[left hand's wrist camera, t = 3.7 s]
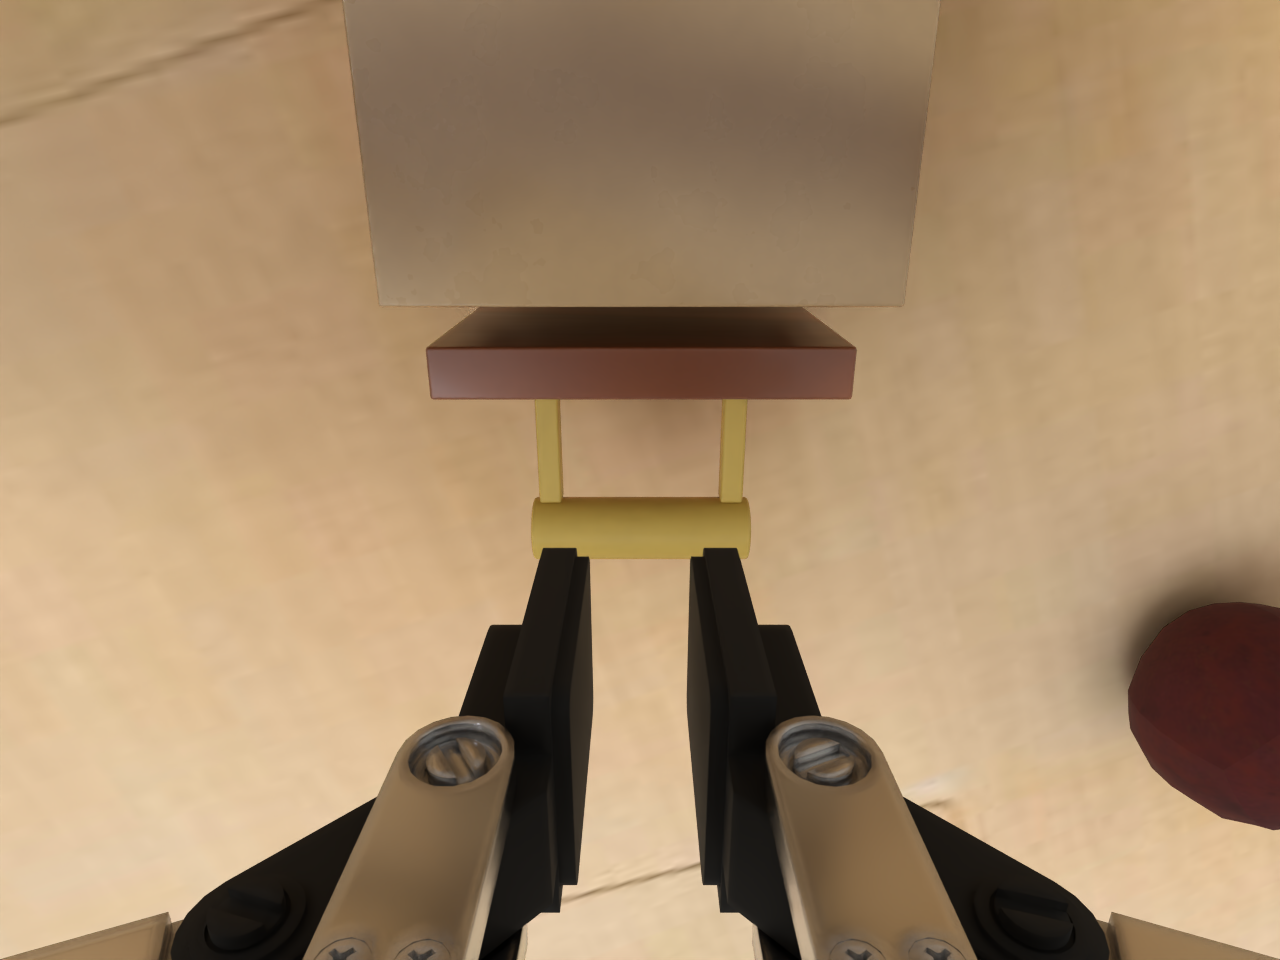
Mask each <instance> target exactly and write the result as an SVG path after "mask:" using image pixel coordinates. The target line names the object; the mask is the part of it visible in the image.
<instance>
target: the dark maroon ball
mask: <svg viewBox="0 0 1280 960" xmlns="http://www.w3.org/2000/svg"><path fill="white" fill-rule="evenodd" d="M1128 710H1129V721H1130V729H1131V731H1132V733H1133V735H1134V736H1135V738H1136V740H1137V742H1138V744H1139V746H1140V747H1141V749H1142V751H1143V753H1144V755H1145V756H1146V758H1147V760H1148V762H1149V764H1150V765H1151V767H1152V768H1153V769H1154V770H1155V771H1156V772H1157V773H1158V774H1159V775H1160V776H1161V777H1162V778H1163V779H1164V780H1165V781H1167V782H1168V783H1169V784H1170V785H1171V786H1172V787H1174V788H1175V789H1177V790H1178V791H1180V792H1181V793H1183V794H1185V795H1186V796H1188V797H1189V798H1191V799H1192V800H1194V801H1195V802H1197V803H1199V804H1200V805H1202V806H1203V807H1205V808H1207V809H1208V810H1210V811H1212V812H1213V813H1215V814H1216V815H1218V816H1220V817H1221V818H1224V819H1229V820H1234V821H1238V822H1243V823H1248V824H1252V825H1257V826H1260V827H1264V828H1267V829H1271V830H1279V829H1280V608H1276V607H1271V606H1266V605H1261V604H1252V603H1243V602H1235V603H1215V604H1211V605H1207V606H1204V607H1200V608H1197V609H1193V610H1189V611H1188V612H1186V613H1185V614H1183V615H1182V616H1180V617H1179V618H1177V619H1176V620H1174V621H1173V622H1171V623H1170V624H1168V625H1167V626H1165V627H1164V628H1163V629H1162V630H1161V631H1160V633H1159V634H1158V635H1157V637H1156V638H1155V639H1154V641H1153V642H1152V644H1151V645H1150V646H1149V648H1148V649H1147V650H1146V652H1145V653H1144V654H1143V656H1142V657H1141V659H1140V662H1139V664H1138V667H1137V669H1136V672H1135V674H1134V677H1133V679H1132V682H1131V684H1130V687H1129V689H1128Z"/></svg>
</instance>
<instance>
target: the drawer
mask: <svg viewBox="0 0 1280 960" xmlns="http://www.w3.org/2000/svg"><path fill="white" fill-rule="evenodd" d="M856 352H857V349H856V347H855V346H853V345H852V344H851V343H849V342H848V341H847V340H845V339H844V338H843V337H841V336H840V335H839V334H837V333H836V332H835V331H833V330H832V329H831V328H829V327H828V326H827V325H825V324H824V323H823V322H821V321H820V320H819V319H817V318H816V317H815V316H813V315H812V314H811V313H809V312H808V311H807V310H805V309H804V308H803V307H479V308H478V309H477V310H475V311H474V312H473V313H471V314H470V315H469V316H467V317H466V318H465V319H464V320H462V321H461V322H460V323H458V324H457V325H456V326H454V327H453V328H452V329H450V330H449V331H448V332H446V333H445V334H444V335H442V336H441V337H440V338H439V339H437V340H436V341H435V342H433V343H432V344H431V345H429V346H428V347H427V348H426V357H427V367H428V377H429V387H430V396H431V398H432V399H535V415H536V434H537V454H538V474H539V494H540V497H537V498H535V500H534V503H533V508H532V519H531V540H532V550H533V555H534V557H535V558H536V559H540V556H541V553H542V549H543V548H576V549H577V556H589V559H691V556H703V549H704V548H737V549H738V553H739V557H740V559H746V558H747V557H748V555H749V551H750V542H751V517H750V508H749V503H748V500H747V498H745V497H742V495H743V475H744V456H745V436H746V417H747V399H851V397H852V391H853V381H854V371H855V361H856ZM560 399H722V419H721V445H720V470H719V497H563V469H562V443H561V417H560Z"/></svg>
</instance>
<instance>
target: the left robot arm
mask: <svg viewBox="0 0 1280 960" xmlns="http://www.w3.org/2000/svg"><path fill="white" fill-rule="evenodd" d="M592 717H593V668H592V630H591V591H590V560H589V556H577V549H576V548H543V549H542V553H541V556H540V560H539V564H538V568H537V571H536V575H535V579H534V583H533V586H532V590H531V594H530V597H529V601H528V605H527V609H526V612H525V616H524V620H523V623H522V625H491V626H490V628H489V630H488V632H487V635H486V638H485V641H484V644H483V647H482V650H481V652H480V655H479V658H478V661H477V664H476V667H475V670H474V673H473V676H472V679H471V682H470V685H469V688H468V690H467V693H466V696H465V699H464V702H463V705H462V708H461V711H460V714H459V716H458V717H450V718H446V719H443V720H439V721H436V722H433V723H431V724H429V725H427V726H425V727H423V728H421V729H419V730H418V731H416V732H415V733H414V734H413V735H412V736H410V737H409V738H408V739H407V740H406V741H405V742H404V744H403V745H402V746H401V748H400V749H399V751H398V752H397V754H396V757H395V759H394V761H393V763H392V765H391V768H390V770H389V772H388V774H387V776H386V778H385V781H384V783H383V785H382V787H381V789H380V792H379V794H378V796H377V797H376V798H374V799H372V800H370V801H369V802H367V803H365V804H363V805H361V806H360V807H358V808H356V809H354V810H352V811H351V812H349V813H347V814H345V815H344V816H342V817H340V818H338V819H336V820H335V821H333V822H331V823H329V824H328V825H326V826H324V827H322V828H320V829H319V830H317V831H315V832H313V833H312V834H310V835H308V836H306V837H304V838H303V839H301V840H299V841H297V842H296V843H294V844H292V845H290V846H288V847H287V848H285V849H283V850H281V851H280V852H278V853H276V854H274V855H272V856H271V857H269V858H267V859H265V860H264V861H262V862H260V863H258V864H256V865H255V866H253V867H251V868H249V869H247V870H246V871H244V872H242V873H240V874H239V875H237V876H235V877H233V878H231V879H230V880H228V881H226V882H225V883H223V884H222V885H220V886H219V887H217V888H216V889H214V890H213V891H211V892H210V893H209V894H207V895H206V896H204V897H203V898H202V899H201V900H200V901H199V902H198V903H197V904H196V905H195V906H194V907H193V908H192V909H191V910H190V912H189V913H188V914H187V915H186V917H185V918H184V920H181V921H177V922H174V923H171V919H170V916H169V913H168V912H166V913H163V914H159V915H156V916H152V917H148V918H145V919H141V920H138V921H134V922H131V923H127V924H124V925H120V926H116V927H113V928H109V929H106V930H102V931H99V932H95V933H92V934H88V935H85V936H81V937H77V938H74V939H70V940H67V941H63V942H60V943H56V944H53V945H49V946H45V947H42V948H38V949H35V950H31V951H28V952H24V953H21V954H17V955H14V956H10V957H6V958H3V959H0V960H525V956H526V950H527V944H528V927H527V923H528V922H529V921H531V920H532V919H533V918H535V917H536V916H537V915H538V914H540V913H560V906H561V897H562V888H563V885H577V882H578V874H579V862H580V851H581V840H582V829H583V818H584V807H585V795H586V784H587V773H588V762H589V751H590V739H591V728H592ZM687 717H688V728H689V740H690V751H691V762H692V773H693V784H694V795H695V807H696V818H697V829H698V840H699V851H700V863H701V874H702V882H703V885H717V888H718V897H719V906H720V913H740V914H742V915H743V916H744V917H745V918H747V919H748V920H749V921H750V922H752V923H753V927H752V944H753V950H754V956H755V960H1280V959H1277V958H1274V957H1270V956H1266V955H1263V954H1259V953H1256V952H1252V951H1249V950H1245V949H1242V948H1238V947H1235V946H1231V945H1227V944H1224V943H1220V942H1217V941H1213V940H1210V939H1206V938H1203V937H1199V936H1195V935H1192V934H1188V933H1185V932H1181V931H1178V930H1174V929H1171V928H1167V927H1163V926H1160V925H1156V924H1153V923H1149V922H1146V921H1142V920H1139V919H1135V918H1132V917H1128V916H1124V915H1121V914H1117V913H1114V912H1112V913H1111V916H1110V919H1109V923H1106V922H1103V921H1099V920H1096V918H1095V917H1094V915H1093V914H1092V913H1091V912H1090V911H1089V910H1088V908H1087V907H1086V906H1085V905H1084V904H1083V903H1082V902H1081V901H1080V900H1079V899H1078V898H1077V897H1076V896H1074V895H1073V894H1071V893H1070V892H1069V891H1067V890H1066V889H1064V888H1063V887H1061V886H1060V885H1058V884H1057V883H1055V882H1054V881H1052V880H1050V879H1049V878H1047V877H1045V876H1043V875H1041V874H1040V873H1038V872H1036V871H1034V870H1032V869H1031V868H1029V867H1027V866H1025V865H1024V864H1022V863H1020V862H1018V861H1016V860H1015V859H1013V858H1011V857H1009V856H1008V855H1006V854H1004V853H1002V852H1000V851H999V850H997V849H995V848H993V847H992V846H990V845H988V844H986V843H984V842H983V841H981V840H979V839H977V838H976V837H974V836H972V835H970V834H968V833H967V832H965V831H963V830H961V829H960V828H958V827H956V826H954V825H952V824H951V823H949V822H947V821H945V820H944V819H942V818H940V817H938V816H936V815H935V814H933V813H931V812H929V811H927V810H926V809H924V808H922V807H920V806H919V805H917V804H915V803H913V802H911V801H910V800H908V799H906V798H904V797H903V796H902V794H901V792H900V789H899V787H898V785H897V783H896V781H895V778H894V776H893V774H892V772H891V770H890V768H889V765H888V763H887V761H886V759H885V757H884V754H883V752H882V751H881V749H880V748H879V746H878V745H877V744H876V742H875V741H874V740H873V739H872V738H871V737H870V736H868V735H867V734H866V733H865V732H864V731H862V730H861V729H859V728H857V727H855V726H853V725H851V724H849V723H847V722H844V721H841V720H837V719H834V718H830V717H822V716H821V714H820V711H819V708H818V705H817V702H816V699H815V696H814V693H813V690H812V688H811V685H810V682H809V679H808V676H807V673H806V670H805V667H804V664H803V661H802V658H801V655H800V652H799V650H798V647H797V644H796V641H795V638H794V635H793V632H792V630H791V628H790V626H789V625H758V623H757V620H756V616H755V612H754V609H753V605H752V601H751V597H750V594H749V590H748V586H747V583H746V579H745V575H744V571H743V568H742V564H741V560H740V557H739V553H738V549H737V548H704V549H703V556H691V560H690V591H689V629H688V668H687Z"/></svg>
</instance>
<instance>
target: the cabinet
mask: <svg viewBox="0 0 1280 960" xmlns="http://www.w3.org/2000/svg"><path fill="white" fill-rule="evenodd" d="M940 2H941V0H342V3H343V12H344V20H345V28H346V37H347V45H348V53H349V62H350V70H351V78H352V87H353V95H354V103H355V112H356V120H357V128H358V137H359V145H360V153H361V162H362V170H363V178H364V187H365V195H366V203H367V212H368V220H369V228H370V237H371V245H372V253H373V262H374V270H375V278H376V287H377V295H378V303H379V306H381V307H901V306H903V305H904V300H905V292H906V284H907V276H908V267H909V259H910V251H911V242H912V234H913V226H914V218H915V209H916V201H917V193H918V185H919V176H920V168H921V160H922V151H923V143H924V135H925V127H926V118H927V110H928V102H929V94H930V85H931V77H932V69H933V60H934V52H935V44H936V36H937V27H938V19H939V11H940Z"/></svg>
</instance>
